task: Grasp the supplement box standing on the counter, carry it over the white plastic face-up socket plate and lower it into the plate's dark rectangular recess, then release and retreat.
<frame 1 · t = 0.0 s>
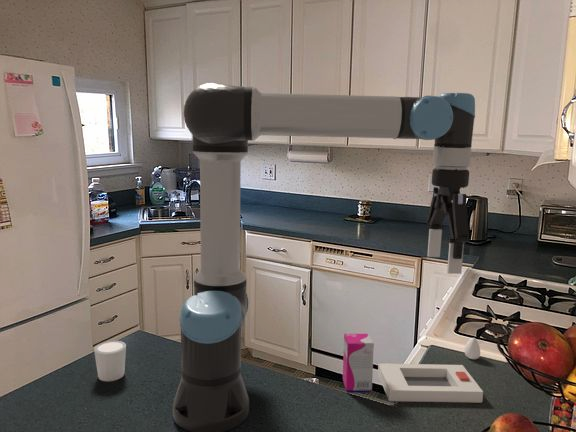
hand: (443, 264, 105), 28 cm above the countertop, fingers open, 13 cm apart
egg: (471, 358, 123), on the countertop
white candle: (111, 375, 110), on the countertop
socket plate: (427, 387, 108), on the countertop
supplement box: (356, 386, 108), on the countertop
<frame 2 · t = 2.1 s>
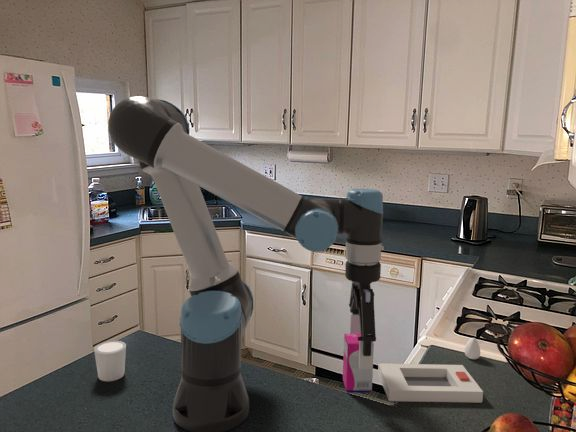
hand: (360, 353, 106), 8 cm above the countertop, fingers open, 13 cm apart
nothing on the countertop moved.
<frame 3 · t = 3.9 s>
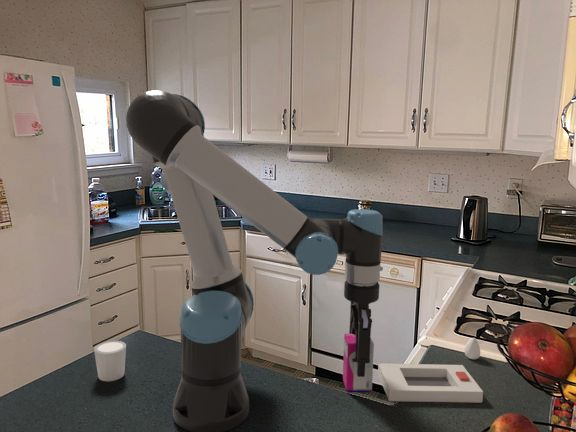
hand: (356, 380, 107), 1 cm above the countertop, fingers closed on supplement box, 6 cm apart
supplement box: (356, 386, 107), on the countertop, touching gripper
everything else where it was.
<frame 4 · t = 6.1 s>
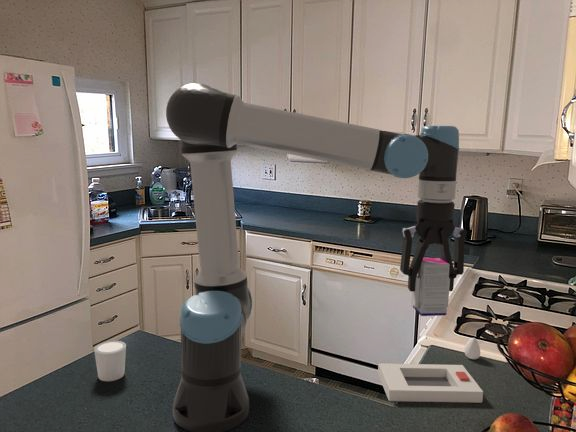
hand: (429, 304, 104), 19 cm above the countertop, fingers closed on supplement box, 6 cm apart
supplement box: (429, 312, 105), point 18 cm above the countertop, touching gripper
everything else where it was.
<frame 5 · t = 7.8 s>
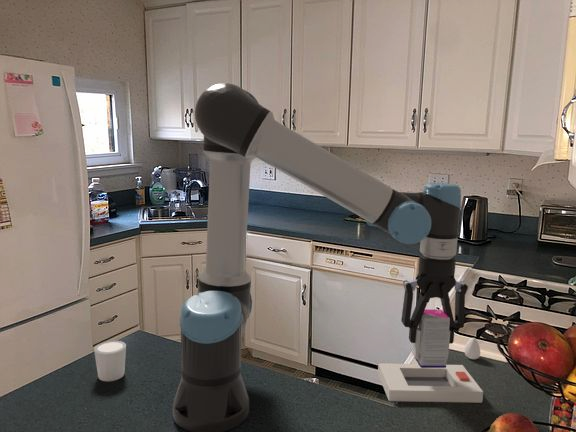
hand: (429, 355, 106), 8 cm above the countertop, fingers closed on supplement box, 6 cm apart
supplement box: (429, 362, 107), point 6 cm above the countertop, touching gripper
everything else where it was.
when the fingers open (4 cm above the countertop, at t = 8.8 s): supplement box drops 2 cm, resting on socket plate.
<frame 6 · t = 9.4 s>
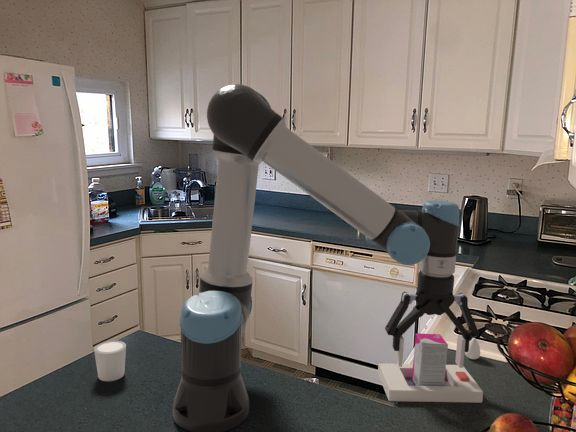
hand: (429, 364, 107), 5 cm above the countertop, fingers open, 13 cm apart
supplement box: (427, 386, 108), resting on socket plate
everything else where it was.
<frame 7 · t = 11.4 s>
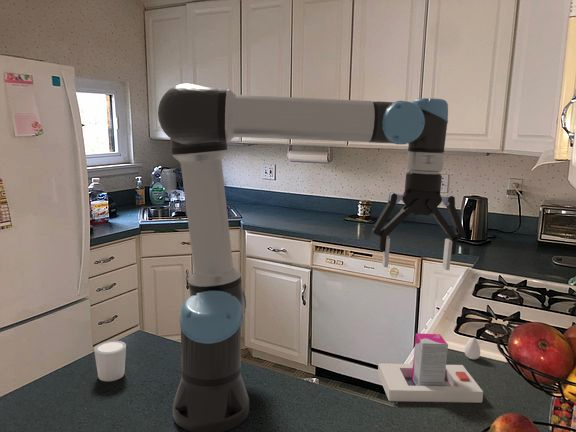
hand: (415, 267, 107), 27 cm above the countertop, fingers open, 13 cm apart
nothing on the countertop moved.
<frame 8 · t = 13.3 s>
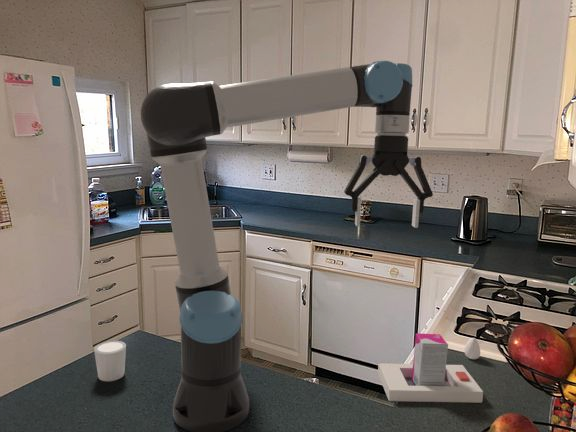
hand: (386, 226, 113), 35 cm above the countertop, fingers open, 13 cm apart
nothing on the countertop moved.
at the end: supplement box inside the target area (0.1 cm from its centre), resting on socket plate; supplement box tilted 0°; the gripper is holding nothing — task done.
